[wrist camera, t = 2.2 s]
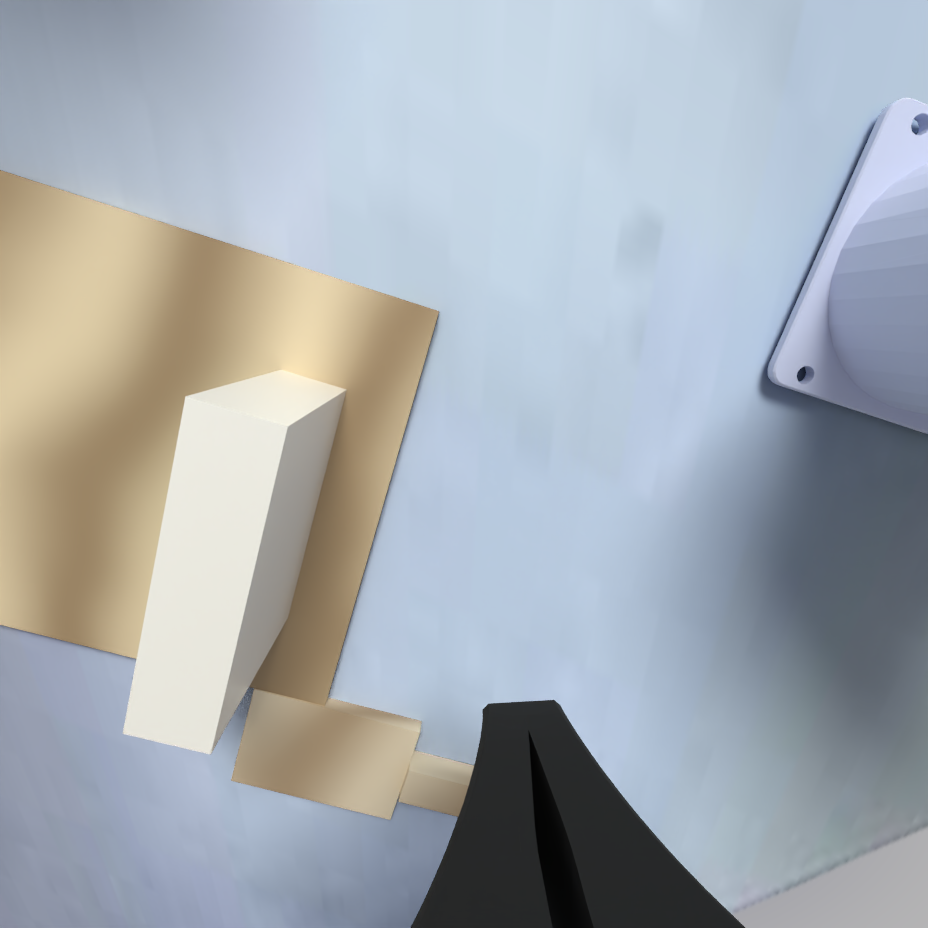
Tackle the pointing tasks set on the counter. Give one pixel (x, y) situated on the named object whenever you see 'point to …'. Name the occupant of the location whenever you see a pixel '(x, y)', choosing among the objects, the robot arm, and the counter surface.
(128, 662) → the counter surface
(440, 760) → the beech spatula
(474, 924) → the robot arm
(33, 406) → the bamboo mat
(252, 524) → the white block
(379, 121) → the counter surface
